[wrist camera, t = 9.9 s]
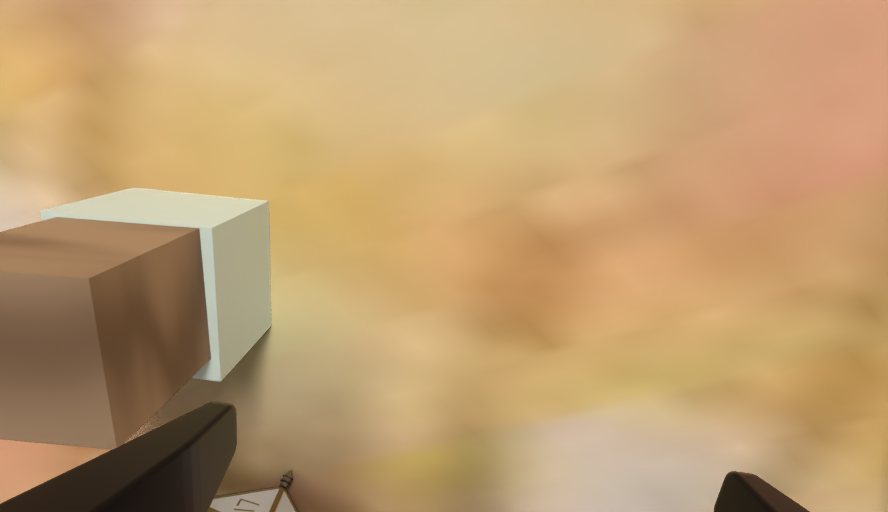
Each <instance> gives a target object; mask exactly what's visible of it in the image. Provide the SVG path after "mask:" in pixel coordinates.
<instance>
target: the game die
mask: <svg viewBox="0 0 888 512" xmlns="http://www.w3.org/2000/svg"><path fill="white" fill-rule="evenodd" d="M291 480H293V479H292V470H291V471H289V472H288V473H287V474H285V475H283V478H282V479H281V480H280V481H281V484H280V486H278V487H272V488H266V489H260V490H253V491H247V492H241V493H235V494H228V495H222V496H216V497H214V499H213V501H212V503H211V505H210V507H209V509H208V511H207V512H297V510H296V508H295V506H294V504H293V502H292V501H291V499H290V497H289V495H288V493H287V492H286V490H285V489H286V487H287V486H288V485H290V482H291Z"/></svg>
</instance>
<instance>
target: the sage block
mask: <svg viewBox="0 0 888 512" xmlns="http://www.w3.org/2000/svg"><path fill="white" fill-rule="evenodd" d="M40 214H41V220H42V221H43V220H47V219H51V218H55V217H64V218H77V219H89V220H102V221H115V222H127V223H140V224H153V225H165V226H178V227H190V228H200V240H201V251H202V262H203V273H204V284H205V296H206V307H207V318H208V329H209V341H210V352H211V359H210V360H209V361H208V362H207V363H206V364H205V365H204V366H203V367H202V368H201V369H200V370H199V371H198V372H197V373H196V374H195V375H194V376H193V377H192V378H193V379H202V380H211V381H222V380H223V379H224V378H225V376H226V375H227V374H228V373H229V372H230V371H231V370H232V369H233V368H234V366H235V365H236V364H237V363H238V362H239V361H240V360H241V359H242V358H243V357H244V355H245V354H246V353H247V352H248V351H249V350H250V349H251V348H252V347H253V345H254V344H255V343H256V342H257V341H258V340H259V339H260V338H261V337H262V335H263V334H264V333H265V332H266V331H267V330H268V329H269V328H270V327H271V326H272V318H271V271H270V225H269V201H265V200H255V199H245V198H235V197H225V196H215V195H205V194H195V193H185V192H175V191H165V190H155V189H145V188H135V187H134V188H130V189H126V190H122V191H118V192H114V193H110V194H105V195H101V196H97V197H93V198H89V199H85V200H81V201H77V202H73V203H69V204H65V205H60V206H56V207H52V208H48V209H44V210H40Z"/></svg>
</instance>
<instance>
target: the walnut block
mask: <svg viewBox="0 0 888 512" xmlns="http://www.w3.org/2000/svg"><path fill="white" fill-rule="evenodd" d="M210 359H211V352H210V341H209V329H208V318H207V307H206V296H205V284H204V273H203V262H202V251H201V240H200V228H190V227H178V226H165V225H153V224H140V223H127V222H115V221H102V220H89V219H77V218H64V217H55V218H51V219H47V220H43V221H40V222H36V223H32V224H29V225H25V226H21V227H18V228H14V229H10V230H6V231H3V232H0V439H3V440H14V441H24V442H35V443H46V444H56V445H67V446H78V447H88V448H99V449H110V450H113V449H115V448H117V447H119V446H121V445H123V444H124V443H125V442H126V441H127V440H128V439H129V438H130V437H131V436H132V435H133V434H134V433H135V432H136V431H137V430H138V429H139V428H140V427H141V426H142V425H143V424H144V423H145V422H147V421H148V420H149V419H150V418H151V417H152V416H153V415H154V414H155V413H156V412H157V411H158V410H159V409H160V408H161V407H162V406H163V405H164V404H165V403H166V402H167V401H168V400H169V399H170V398H171V397H172V396H173V395H174V394H175V393H176V392H177V391H178V390H179V389H180V388H181V387H182V386H183V385H184V384H185V383H186V382H187V381H189V380H190V379H191V378H192V377H193V376H194V375H195V374H196V373H197V372H198V371H199V370H200V369H201V368H202V367H203V366H204V365H205V364H206V363H207V362H208V361H209V360H210Z"/></svg>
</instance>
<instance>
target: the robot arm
mask: <svg viewBox="0 0 888 512" xmlns="http://www.w3.org/2000/svg"><path fill="white" fill-rule="evenodd" d="M236 445H237V421H236V408H235V406H233V405H232V404H227V403H220V402H210V403H208V404H206V405H204V406H202V407H200V408H198V409H195V410H193V411H191V412H189V413H187V414H185V415H183V416H181V417H179V418H177V419H175V420H173V421H171V422H169V423H167V424H164V425H162V426H160V427H158V428H156V429H154V430H152V431H150V432H148V433H146V434H144V435H142V436H140V437H138V438H136V439H133V440H131V441H129V442H127V443H125V444H123V445H121V446H119V447H117V448H115V449H113V450H111V451H109V452H107V453H105V454H102V455H100V456H98V457H96V458H94V459H92V460H90V461H88V462H86V463H84V464H82V465H80V466H78V467H76V468H73V469H71V470H69V471H67V472H65V473H63V474H61V475H59V476H57V477H55V478H53V479H51V480H49V481H47V482H44V483H42V484H40V485H38V486H36V487H34V488H32V489H30V490H28V491H26V492H24V493H22V494H20V495H18V496H15V497H13V498H11V499H9V500H7V501H5V502H3V503H1V504H0V512H207V511H208V509H209V507H210V505H211V503H212V501H213V499H214V496H215V494H216V492H217V490H218V488H219V486H220V484H221V481H222V479H223V477H224V475H225V473H226V471H227V469H228V466H229V464H230V462H231V460H232V458H233V456H234V453H235V450H236ZM714 512H809V511H808V510H807V509H805V508H804V507H802V506H801V505H799V504H798V503H796V502H795V501H793V500H792V499H790V498H789V497H787V496H786V495H784V494H783V493H781V492H780V491H779V490H777V489H776V488H774V487H773V486H771V485H770V484H768V483H767V482H765V481H764V480H762V479H761V478H759V477H758V476H756V475H754V474H750V473H743V472H736V471H732V472H729V473H728V474H727V475H726V477H725V479H724V482H723V484H722V487H721V490H720V492H719V495H718V498H717V501H716V503H715V507H714Z"/></svg>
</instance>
